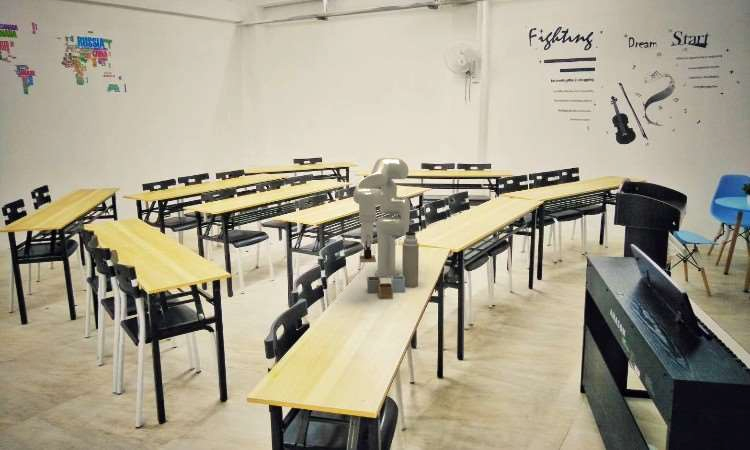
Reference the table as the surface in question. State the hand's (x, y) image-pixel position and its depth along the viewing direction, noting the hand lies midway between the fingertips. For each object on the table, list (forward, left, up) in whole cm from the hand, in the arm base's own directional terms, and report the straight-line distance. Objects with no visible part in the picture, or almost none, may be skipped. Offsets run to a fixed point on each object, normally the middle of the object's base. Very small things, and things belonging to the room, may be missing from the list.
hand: (367, 256), depth 249 cm
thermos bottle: (-17, +23, -21) cm, 35 cm away
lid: (0, 0, -2) cm, 2 cm away
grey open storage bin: (-10, +4, -21) cm, 24 cm away
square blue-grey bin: (-10, +16, -21) cm, 28 cm away
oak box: (-2, +9, -21) cm, 23 cm away
